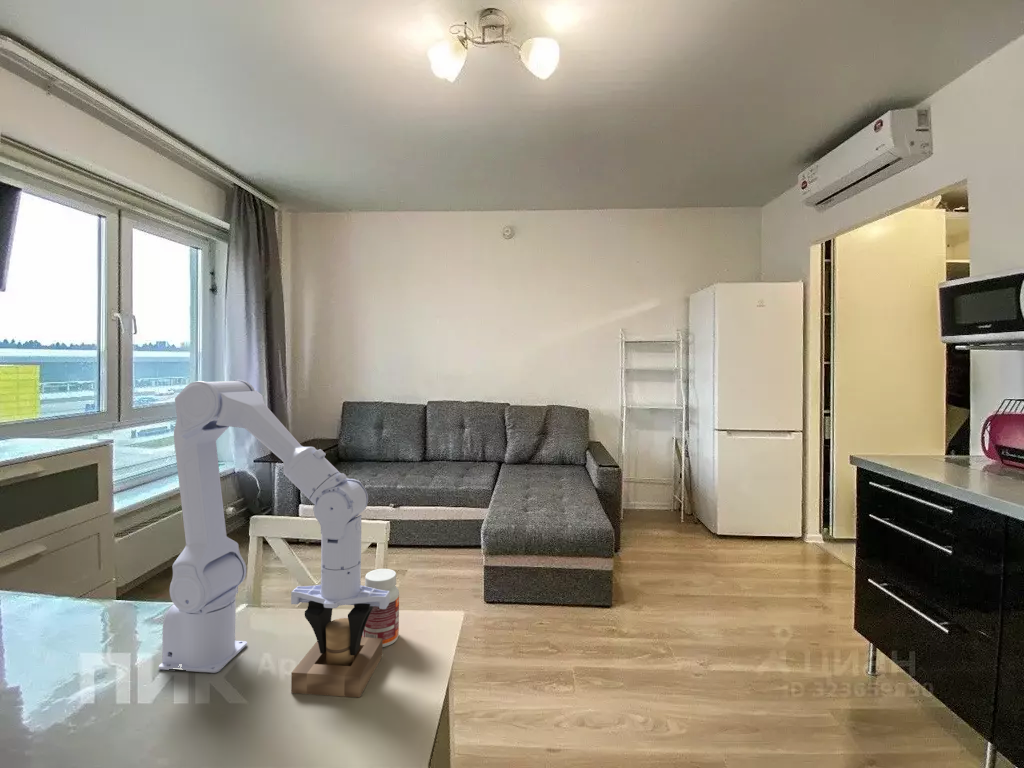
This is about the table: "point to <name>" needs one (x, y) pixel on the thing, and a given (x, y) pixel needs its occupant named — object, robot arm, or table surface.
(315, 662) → the board
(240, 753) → the table surface
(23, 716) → the table surface
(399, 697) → the table surface
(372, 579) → the pill bottle
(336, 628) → the peg
